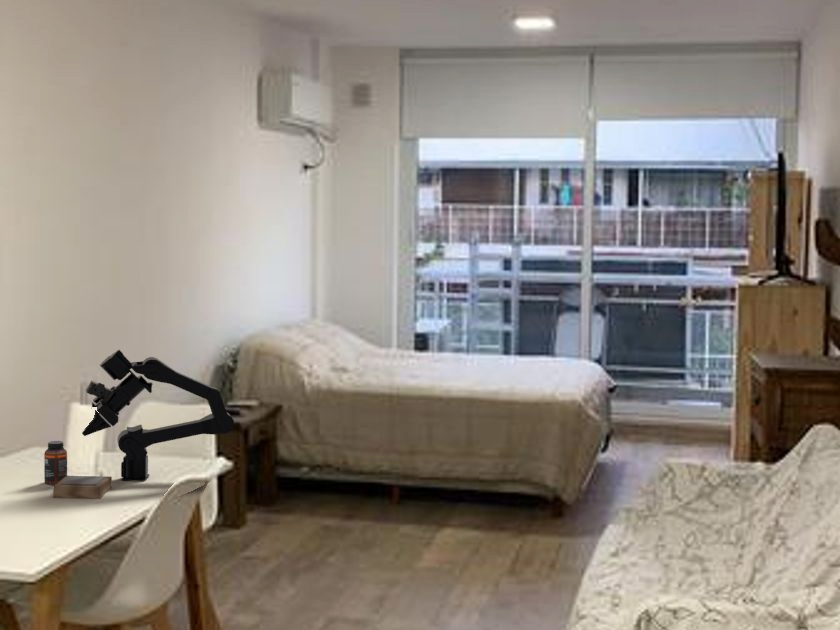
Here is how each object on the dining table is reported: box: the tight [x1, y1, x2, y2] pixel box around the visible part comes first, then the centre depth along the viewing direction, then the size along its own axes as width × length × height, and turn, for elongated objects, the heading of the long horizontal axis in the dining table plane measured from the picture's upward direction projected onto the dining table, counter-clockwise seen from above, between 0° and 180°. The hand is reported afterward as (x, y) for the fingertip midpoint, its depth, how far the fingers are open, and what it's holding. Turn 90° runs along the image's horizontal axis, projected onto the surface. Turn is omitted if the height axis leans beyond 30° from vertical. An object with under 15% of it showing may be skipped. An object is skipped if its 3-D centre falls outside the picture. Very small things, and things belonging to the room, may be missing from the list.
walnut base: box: [52, 475, 113, 499], centre depth 295 cm, size 12×12×3 cm
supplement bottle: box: [43, 440, 68, 486], centre depth 304 cm, size 6×6×11 cm
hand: (82, 431), depth 307 cm, fingers open, 9 cm apart
